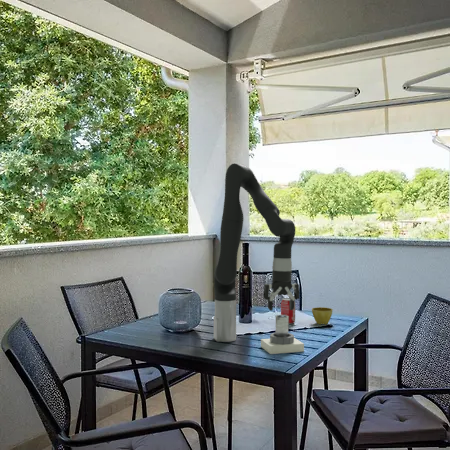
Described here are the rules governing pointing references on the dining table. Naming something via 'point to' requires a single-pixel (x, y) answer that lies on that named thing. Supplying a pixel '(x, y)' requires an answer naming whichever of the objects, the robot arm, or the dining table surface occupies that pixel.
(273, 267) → the robot arm
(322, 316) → the flower pot
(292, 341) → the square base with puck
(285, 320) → the pale grey cylinder
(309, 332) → the dining table surface
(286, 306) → the soda can
